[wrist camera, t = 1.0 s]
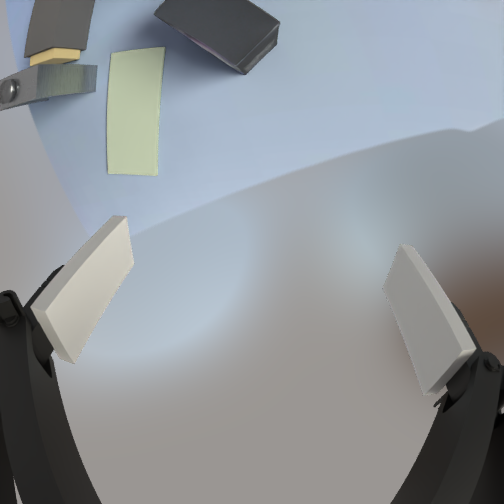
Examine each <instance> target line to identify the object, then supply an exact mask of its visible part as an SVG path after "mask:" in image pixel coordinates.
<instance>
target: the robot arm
mask: <svg viewBox="0 0 504 504" xmlns="http://www.w3.org/2000/svg"><path fill="white" fill-rule="evenodd" d="M133 265H134V260H133V254H132V249H131V243H130V236H129V230H128V223H127V216H112V217H111V218H110V219H109V220H108V221H107V222H106V223H105V224H104V225H103V226H102V227H101V228H100V229H99V230H98V231H97V232H96V233H95V234H94V235H93V236H92V237H91V238H90V239H89V240H88V241H87V242H86V243H85V244H84V245H83V246H82V247H81V248H80V249H79V250H78V252H77V253H76V254H75V255H74V256H73V257H72V258H71V259H70V260H69V261H68V262H67V264H66V265H62V266H61V267H59V268H58V269H56V270H55V271H53V272H52V273H51V275H50V276H49V277H48V278H47V281H45V282H44V283H43V284H42V285H41V287H39V289H38V290H37V291H36V292H35V293H34V295H33V296H32V297H31V298H30V300H29V301H28V302H27V303H26V305H25V306H24V307H22V305H21V303H20V301H19V299H18V297H17V295H16V293H15V292H13V291H11V290H7V291H3V292H1V293H0V504H17V499H16V493H15V486H14V479H15V483H16V486H17V489H18V492H19V495H20V498H21V501H22V503H23V504H102V503H101V501H100V499H99V498H98V496H97V494H96V491H95V489H94V487H93V486H92V483H91V481H90V479H89V477H88V474H87V472H86V470H85V468H84V465H83V463H82V460H81V458H80V455H79V452H78V450H77V447H76V444H75V441H74V439H73V436H72V433H71V430H70V427H69V423H68V420H67V417H66V414H65V410H64V406H63V403H62V399H61V395H60V391H59V386H58V382H57V377H56V372H55V367H54V362H53V359H52V357H51V353H52V352H53V350H55V352H56V353H57V355H58V357H59V358H60V359H62V360H64V361H67V362H70V363H72V364H75V362H76V360H77V358H78V357H79V355H80V353H81V351H82V349H83V347H84V345H85V344H86V342H87V340H88V338H89V336H90V335H91V333H92V331H93V329H94V328H95V326H96V324H97V322H98V321H99V319H100V317H101V316H102V314H103V312H104V310H105V309H106V307H107V306H108V304H109V302H110V301H111V299H112V297H113V296H114V294H115V293H116V291H117V290H118V288H119V287H120V285H121V283H122V282H123V280H124V279H125V277H126V276H127V274H128V273H129V271H130V270H131V268H132V267H133ZM383 291H384V293H385V295H386V298H387V300H388V302H389V304H390V307H391V309H392V312H393V314H394V316H395V319H396V321H397V324H398V326H399V329H400V331H401V334H402V336H403V339H404V341H405V344H406V347H407V350H408V352H409V355H410V358H411V361H412V363H413V366H414V369H415V372H416V375H417V378H418V381H419V384H420V387H421V391H422V394H423V396H426V395H432V394H437V393H438V392H439V391H440V390H441V389H442V388H443V387H444V386H445V385H446V386H447V389H448V391H447V392H446V393H445V394H444V395H443V396H442V397H441V398H440V399H439V400H438V401H437V402H436V403H435V404H434V407H436V406H437V405H438V404H439V403H441V404H440V407H439V408H438V409H439V410H438V412H437V415H436V417H435V420H434V422H433V425H432V427H431V429H430V432H429V434H428V436H427V438H426V441H425V443H424V445H423V447H422V449H421V452H420V453H419V455H418V457H417V459H416V461H415V463H414V465H413V467H412V469H411V471H410V472H409V474H408V476H407V478H406V479H405V481H404V483H403V484H402V486H401V488H400V489H399V491H398V493H397V494H396V496H395V497H394V499H393V500H392V502H391V504H504V413H503V414H502V413H501V409H502V408H503V407H504V366H502V365H501V364H500V362H499V360H498V359H497V358H496V356H494V355H493V354H492V353H489V352H483V351H482V349H481V347H480V345H479V344H478V342H477V340H476V338H475V336H474V334H473V332H472V330H471V329H470V328H469V325H468V323H467V321H465V318H464V316H463V315H462V313H461V311H460V310H459V309H458V308H457V307H456V306H455V305H454V304H453V303H452V302H450V300H449V299H448V297H447V296H446V294H445V293H444V291H443V290H442V288H441V286H440V285H439V283H438V282H437V280H436V279H435V277H434V276H433V274H432V273H431V271H430V270H429V268H428V267H427V265H426V264H425V262H424V261H423V260H422V258H421V257H420V255H419V254H418V253H417V251H416V250H415V249H414V247H413V246H411V245H404V244H400V245H399V248H398V251H397V253H396V256H395V259H394V261H393V264H392V267H391V269H390V272H389V274H388V276H387V279H386V281H385V284H384V286H383ZM13 476H14V477H13Z"/></svg>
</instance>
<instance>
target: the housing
mask: <svg viewBox="0 0 504 504" xmlns="http://www.w3.org/2000/svg"><path fill="white" fill-rule="evenodd" d="M96 76H97V66H96V65H79V64H38V65H35V66H33V67H30V68H27V69H25V70H22V71H20V72H17V73H15V74H13V75H11V76H8V77H6V78H4V79H2V80H0V111H2V110H5V109H9V108H13V107H17V106H22V105H26V104H31V103H36V102H42V101H46V100H48V99H49V97H52V96H59V95H67V94H76V93H86V92H95V91H96Z"/></svg>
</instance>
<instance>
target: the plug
mask: <svg viewBox="0 0 504 504" xmlns="http://www.w3.org/2000/svg"><path fill="white" fill-rule="evenodd" d="M94 3H95V0H35V3H34V7H33V11H32V15H31V20H30V24H29V29H28V34H27V40H26V46H25V53H24V58H26V57H31V59H30V66H35V65H38V64H62V63H66V62H70V61H74V60H78V59H79V57H80V51H83V50H86V47H87V40H88V34H89V28H90V22H91V17H92V12H93V8H94Z"/></svg>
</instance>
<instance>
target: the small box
mask: <svg viewBox="0 0 504 504" xmlns="http://www.w3.org/2000/svg"><path fill="white" fill-rule="evenodd" d="M154 15H155V16H157V17H158V18H160V19H161V20H162V21H164V22H165V23H167V24H168V25H170V26H171V27H173V28H174V29H175V30H177V31H178V32H180V33H181V34H183V35H184V36H186V37H187V38H189V39H190V40H192V41H193V42H195V43H196V44H198V45H199V46H200V47H202V48H203V49H205V50H206V51H208V52H209V53H211V54H213V55H214V56H216V57H217V58H219V59H220V60H222V61H223V62H224V63H226V64H227V65H229V66H230V67H232V68H234V69H235V70H237V71H238V72H240V73H242V74H243V75H246V74H247V73H248V72H249V71H250V70H251V69H252V68H253V67H254V66H255V65H256V64H257V63H258V62H259V61H260V60H261V59H262V58H263V57H264V56H265V55H266V54H267V53H268V52H269V51H271V50H272V49H273V48H274V47H275V46H276V45H277V37H278V30H279V25H280V21H278V20H277V19H275V18H274V17H273V16H271V15H270V14H268V13H267V12H266V11H264V10H263V9H261V8H260V7H258V6H256V5H255V4H254V3H252V2H250V1H249V0H165V1H164V2H163V3H162V4H161V5H160V6H159V7H158V9H157V10H156V11H155V12H154Z"/></svg>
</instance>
